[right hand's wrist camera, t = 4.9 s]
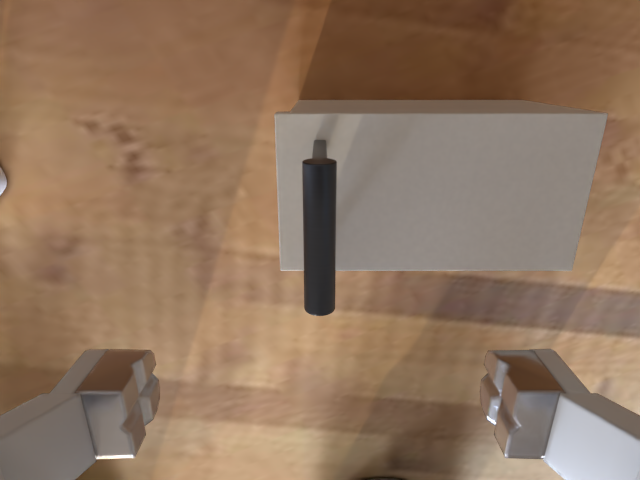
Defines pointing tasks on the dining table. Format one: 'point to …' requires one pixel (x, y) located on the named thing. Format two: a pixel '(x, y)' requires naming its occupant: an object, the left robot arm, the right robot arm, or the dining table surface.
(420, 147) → the lid
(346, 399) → the dining table surface
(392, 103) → the chest
